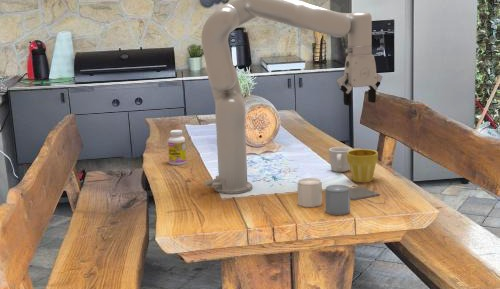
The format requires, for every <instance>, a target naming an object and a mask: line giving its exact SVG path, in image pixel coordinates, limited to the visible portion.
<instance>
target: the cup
mask: <svg viewBox="0 0 500 289" xmlns="http://www.w3.org/2000/svg"><path fill="white" fill-rule="evenodd" d="M351 150H352V148H351V147H349V146H334V147H330V148H329V149H328V152H329V153H328V154H329V163H330V168H331V170H332V171H333V172H335V173H336V172H337V173H345V172H347V171H349V170H350V165H349V163H348V162H347V152H348V151H351Z"/></svg>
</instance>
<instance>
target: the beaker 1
mask: <svg viewBox="0 0 500 289" xmlns="http://www.w3.org/2000/svg"><path fill="white" fill-rule="evenodd" d="M322 183H323V182H322V181H321V179H319V178H314V177H306V178H301V179H298V182H297V204H298V205H299V206H301V207H303V208H305V207H306V208H315V207H320V206H321V205H322V203H323V200H322V199H323V196H322V195H323V193H322V192H323V191H322V189H323V188H322Z"/></svg>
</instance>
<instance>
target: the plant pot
mask: <svg viewBox="0 0 500 289" xmlns="http://www.w3.org/2000/svg"><path fill="white" fill-rule="evenodd" d="M347 162H348V163H349V165H350V168H349V170H350V173H351V178H352V181H353V182H356V183H361V184H362V183H369V182H372V181H373V178H374V174H375V169H376V165H377V163H378V162H379V152H378V151H377V150H375V149H369V148H368V149H367V148H358V149H357V148H356V149H351V151H348V152H347Z"/></svg>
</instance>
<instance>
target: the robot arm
mask: <svg viewBox="0 0 500 289" xmlns="http://www.w3.org/2000/svg"><path fill="white" fill-rule="evenodd" d="M256 17H259V18H263V19H266V20H270V21H273V22H276V23H281V24H284V25H287V26H291V27H294V28H299V29H304V30H305V29H307V30H309V31H311V32H312V31H313V32H316V33H321V34H324V35H327V36H330V37H334V38H343V37H345V36H346V35H347V48H346V49H345V50H344V52H345V53H346V54H347V55H346V58H345V64H344V73H343V75H342V76H341V77H339V78H338V79H336V84H337V86H338V89H339V90H340V91H341V93H343V105H345V106H349V107H350V106H351V105H352V94H351V91H352V90H353V88H363V87H364V88H365V87H368V88H369V89H368V90H367V94H368V95H367V99H368V100H367V101H368V102H369V103H377V102H376V101H377V100H376V98H377V90H378V88H379V86H380V85H381V82H382V80H383V76H382V74H379V73H377V65H376V64H377V63H376V60H375V54H372V51H373V49H372V48H373V47H372V42H373V41H372V32H373V30H372V28H373V26H372V24H373V23H372V19H373V18H372V15H371V13H370V12H366V11H358V12H357V11H356V12H351V13H347V12H338V11H333V10H331V9H328V8H323V7H320V6H317V5H314V4H310V3H308V2H306V1H303V0H230V1H229V2H226V3H224V4H222V5H220V6H219V7H217V9H215V10H214V11H213V13H211V14H210V15H209V17H207V19H206V20H205V22H204V24H203V27H202V30H201V36H200V38H201V39H200V40H201V45H202V51H203V56H204V61H205V65H206V66H205V67H206V70H207V79H208V82H209V85H210V87H211V92H212V96H213V100H214V104H215V109H214V110H215V112H214V113H215V128H216V146H217V169H218V172H217V173H218V175H216V176H215V178H214V179H212V180H211V179H210V180H205V181H204V185H205V187H212V188H214V190H215V191H216V192H217V193H220V194H230V195H231V194H243V193H246V192H249V191H251V190H252V189H253V184H252V183H251V182H249V181H248V163H247V162H248V160H247V138H246V137H247V135H246V132H247V131H246V107H245V102H244V101H245V100H244V99H243V94H242V90H241V85H240V80H239V77H238V72H237V69H236V66H235V65H234V62H233V57H232V54H231V48H230V45H229V36H230V34H231V33H232V32H233V31H234V30H236V29H237V28H238V27H240V26H242V25H244V24H245V23H247V22H250V21H251V20H253V19H255V18H256Z"/></svg>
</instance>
